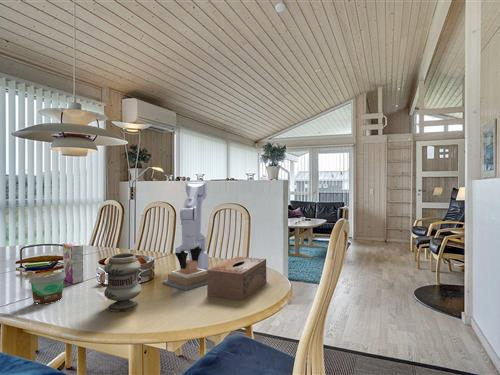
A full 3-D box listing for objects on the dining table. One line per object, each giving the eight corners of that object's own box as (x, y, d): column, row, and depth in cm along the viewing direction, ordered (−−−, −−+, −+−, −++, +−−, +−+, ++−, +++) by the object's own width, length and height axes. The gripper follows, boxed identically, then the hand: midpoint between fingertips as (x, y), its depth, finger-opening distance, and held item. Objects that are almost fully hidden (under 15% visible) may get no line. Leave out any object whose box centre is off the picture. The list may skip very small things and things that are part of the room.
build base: (191, 275, 155) (191, 264, 155) (215, 281, 144) (215, 270, 144) (162, 283, 143) (162, 271, 143) (186, 290, 132) (186, 278, 132)
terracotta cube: (188, 271, 147) (187, 259, 147) (196, 272, 145) (196, 261, 145) (180, 273, 143) (180, 262, 143) (189, 275, 140) (189, 263, 140)
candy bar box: (62, 279, 150) (62, 243, 150) (74, 277, 154) (74, 242, 154) (71, 284, 143) (71, 246, 142) (83, 282, 146) (83, 244, 146)
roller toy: (103, 281, 146) (102, 268, 146) (117, 281, 146) (117, 268, 146) (98, 284, 142) (98, 271, 142) (113, 284, 142) (113, 271, 142)
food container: (37, 308, 115) (37, 279, 115) (29, 305, 118) (28, 277, 118) (72, 297, 125) (72, 271, 125) (63, 295, 129) (63, 269, 129)
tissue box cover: (241, 301, 120) (241, 273, 120) (207, 296, 126) (207, 270, 126) (266, 281, 144) (266, 258, 144) (236, 278, 150) (236, 256, 150)
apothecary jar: (104, 315, 107) (103, 260, 107) (104, 303, 118) (103, 253, 118) (143, 309, 112) (142, 256, 112) (140, 298, 123) (139, 250, 123)
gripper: (192, 232, 152) (192, 262, 152) (169, 237, 139) (170, 269, 139) (204, 233, 148) (204, 263, 148) (182, 238, 136) (183, 271, 136)
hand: (189, 266), depth 144 cm, fingers open, 7 cm apart
